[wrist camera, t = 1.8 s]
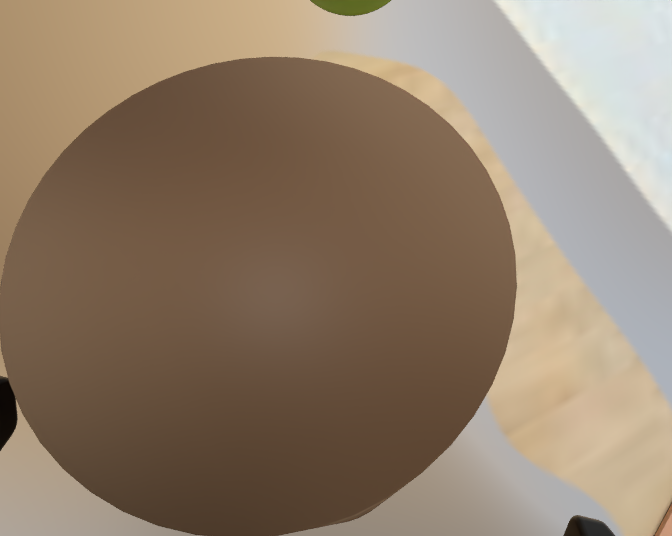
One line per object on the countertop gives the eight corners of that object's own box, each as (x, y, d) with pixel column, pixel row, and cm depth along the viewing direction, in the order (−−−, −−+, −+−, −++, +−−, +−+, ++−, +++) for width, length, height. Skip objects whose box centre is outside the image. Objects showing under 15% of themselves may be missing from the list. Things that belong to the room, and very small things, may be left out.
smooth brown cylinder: (342, 561, 17) (287, 689, 4) (217, 452, 19) (-108, 301, 6) (438, 423, 19) (614, 210, 6) (316, 331, 20) (237, -7, 7)
